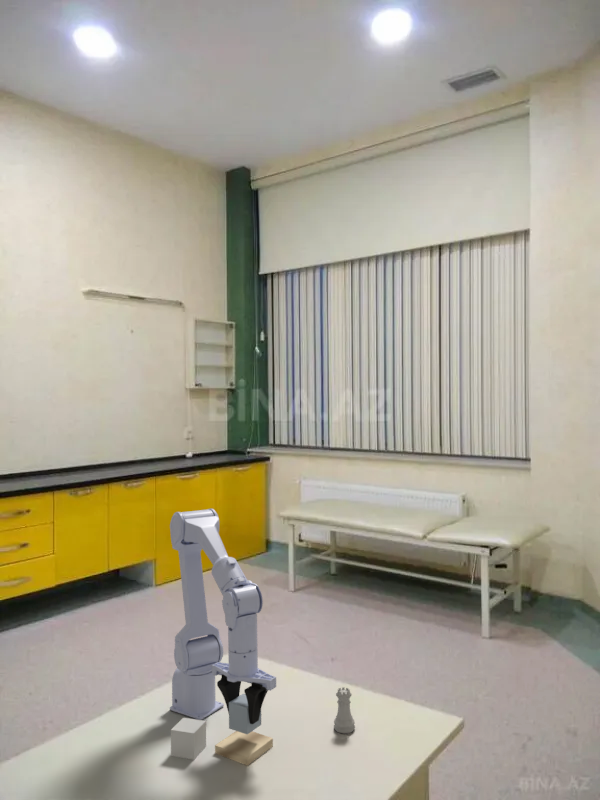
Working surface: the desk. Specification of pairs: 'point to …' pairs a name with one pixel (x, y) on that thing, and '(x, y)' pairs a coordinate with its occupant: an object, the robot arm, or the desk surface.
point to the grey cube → (188, 738)
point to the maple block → (244, 746)
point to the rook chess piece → (344, 712)
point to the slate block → (241, 716)
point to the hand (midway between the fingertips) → (243, 718)
